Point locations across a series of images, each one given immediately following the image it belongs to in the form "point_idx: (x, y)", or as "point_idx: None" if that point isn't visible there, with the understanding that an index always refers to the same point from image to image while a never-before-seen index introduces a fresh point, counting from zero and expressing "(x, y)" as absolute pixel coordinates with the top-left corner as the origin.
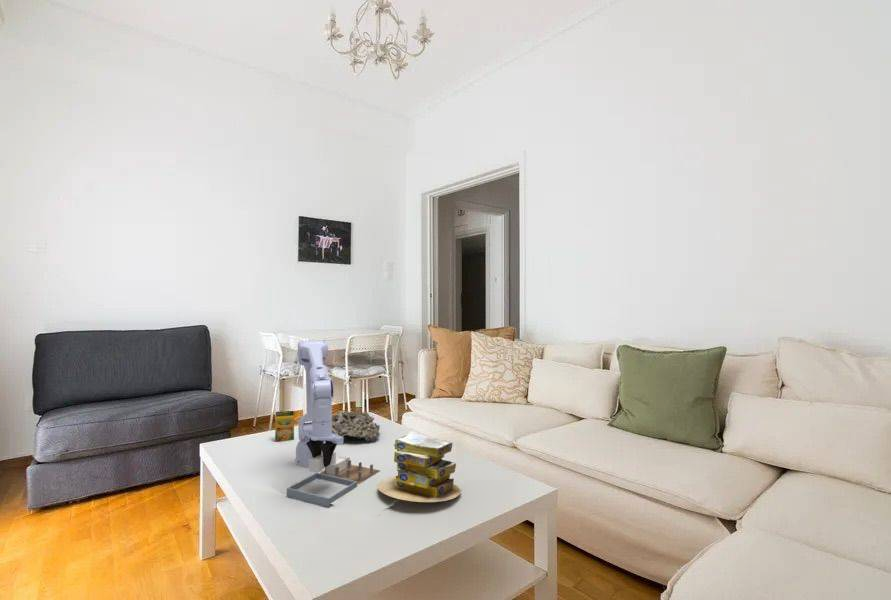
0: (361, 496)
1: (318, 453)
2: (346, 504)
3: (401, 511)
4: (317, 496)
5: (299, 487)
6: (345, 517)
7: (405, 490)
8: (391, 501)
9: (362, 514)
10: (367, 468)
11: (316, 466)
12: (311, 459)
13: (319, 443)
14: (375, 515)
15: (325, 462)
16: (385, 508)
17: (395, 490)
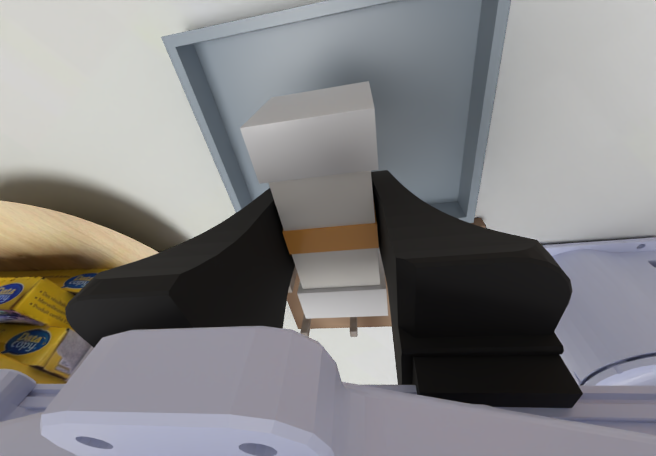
0: (198, 194)
1: (383, 249)
2: (169, 113)
3: (10, 185)
4: (241, 19)
5: (475, 83)
6: (43, 11)
7: (71, 265)
8: (100, 217)
9: (42, 86)
10: (344, 325)
11: (274, 109)
12: (340, 120)
13: (395, 346)
14: (12, 112)
15: (260, 195)
16: (57, 172)
17: (75, 249)
